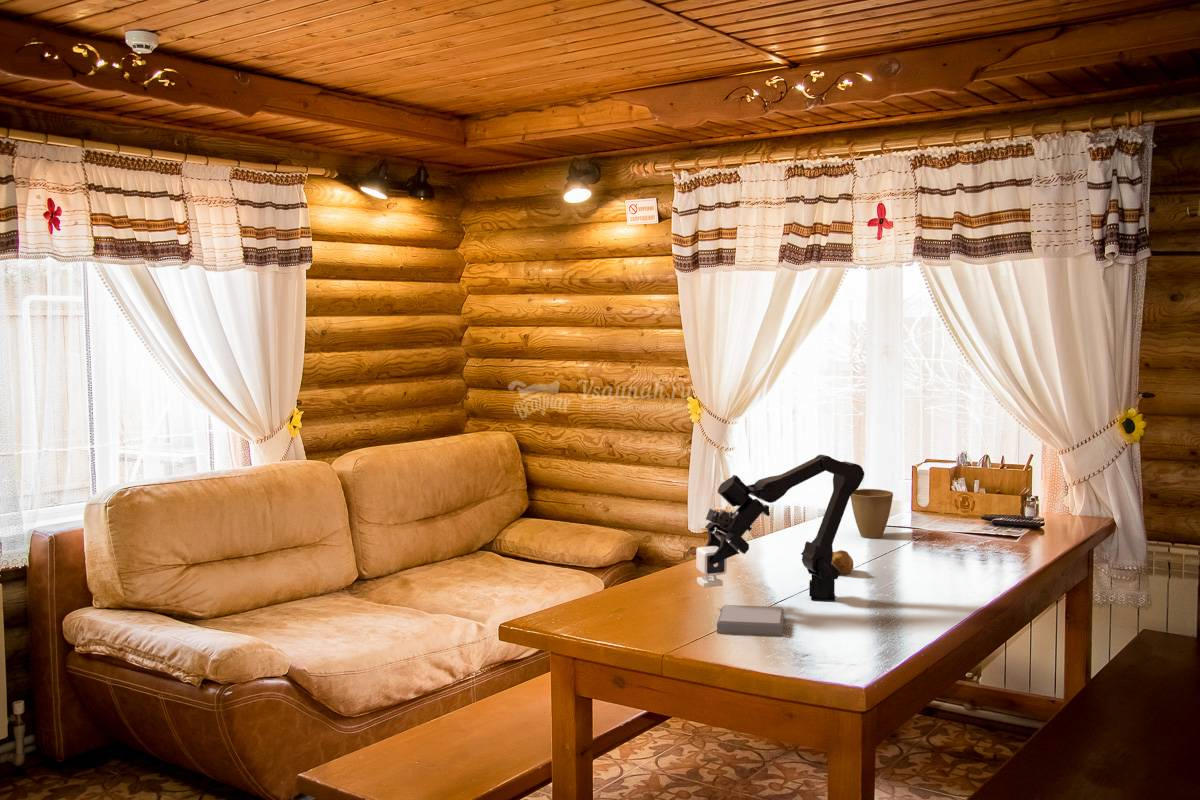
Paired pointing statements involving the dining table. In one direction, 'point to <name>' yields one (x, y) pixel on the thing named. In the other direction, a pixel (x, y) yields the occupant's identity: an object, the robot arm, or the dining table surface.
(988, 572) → the dining table surface
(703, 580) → the security camera
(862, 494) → the plant pot
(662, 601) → the dining table surface
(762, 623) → the grey square slab
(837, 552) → the bread roll
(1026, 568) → the dining table surface
